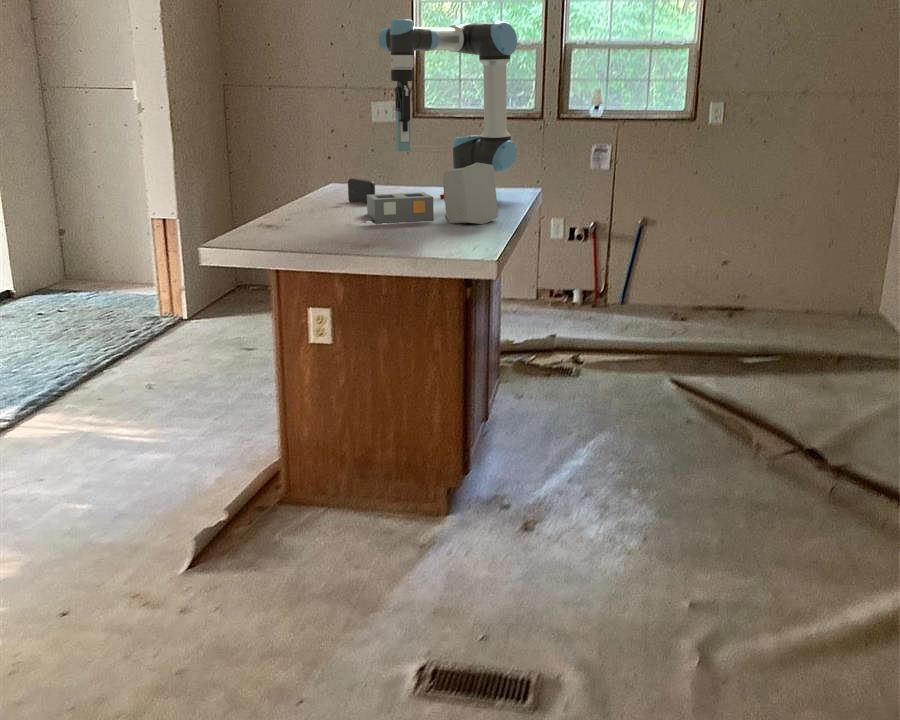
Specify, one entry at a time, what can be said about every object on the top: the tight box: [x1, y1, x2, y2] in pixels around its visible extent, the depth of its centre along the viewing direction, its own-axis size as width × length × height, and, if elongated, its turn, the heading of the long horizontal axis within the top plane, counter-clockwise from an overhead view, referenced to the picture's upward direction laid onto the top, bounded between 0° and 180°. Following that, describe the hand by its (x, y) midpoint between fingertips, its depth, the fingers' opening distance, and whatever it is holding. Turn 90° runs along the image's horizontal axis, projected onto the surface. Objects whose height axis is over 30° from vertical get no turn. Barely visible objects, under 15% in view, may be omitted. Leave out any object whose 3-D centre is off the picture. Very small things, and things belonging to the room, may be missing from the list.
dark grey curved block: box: [347, 177, 376, 204], centre depth 331 cm, size 16×5×9 cm, turn 39°
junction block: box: [366, 191, 434, 225], centre depth 301 cm, size 20×12×8 cm, turn 107°
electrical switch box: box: [439, 163, 499, 225], centre depth 297 cm, size 14×15×20 cm
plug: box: [394, 108, 411, 152], centre depth 303 cm, size 4×4×14 cm
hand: (403, 140), depth 304 cm, fingers closed on plug, 4 cm apart
